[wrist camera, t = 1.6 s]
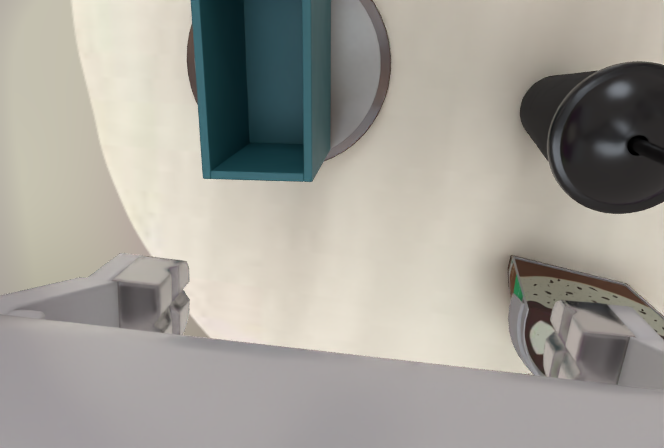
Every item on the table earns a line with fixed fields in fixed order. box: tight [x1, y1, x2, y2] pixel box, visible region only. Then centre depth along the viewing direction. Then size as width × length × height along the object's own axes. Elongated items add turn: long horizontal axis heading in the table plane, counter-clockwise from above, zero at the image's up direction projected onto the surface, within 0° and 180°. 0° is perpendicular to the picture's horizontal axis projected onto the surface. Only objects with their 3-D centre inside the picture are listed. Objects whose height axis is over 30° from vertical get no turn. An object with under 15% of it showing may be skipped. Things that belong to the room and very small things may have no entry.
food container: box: [508, 255, 664, 376], centre depth 41 cm, size 12×6×10 cm, turn 77°
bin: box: [191, 0, 331, 182], centre depth 36 cm, size 7×12×10 cm, turn 0°
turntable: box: [187, 0, 391, 161], centre depth 41 cm, size 15×15×2 cm
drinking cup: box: [520, 61, 664, 214], centre depth 31 cm, size 8×8×20 cm
